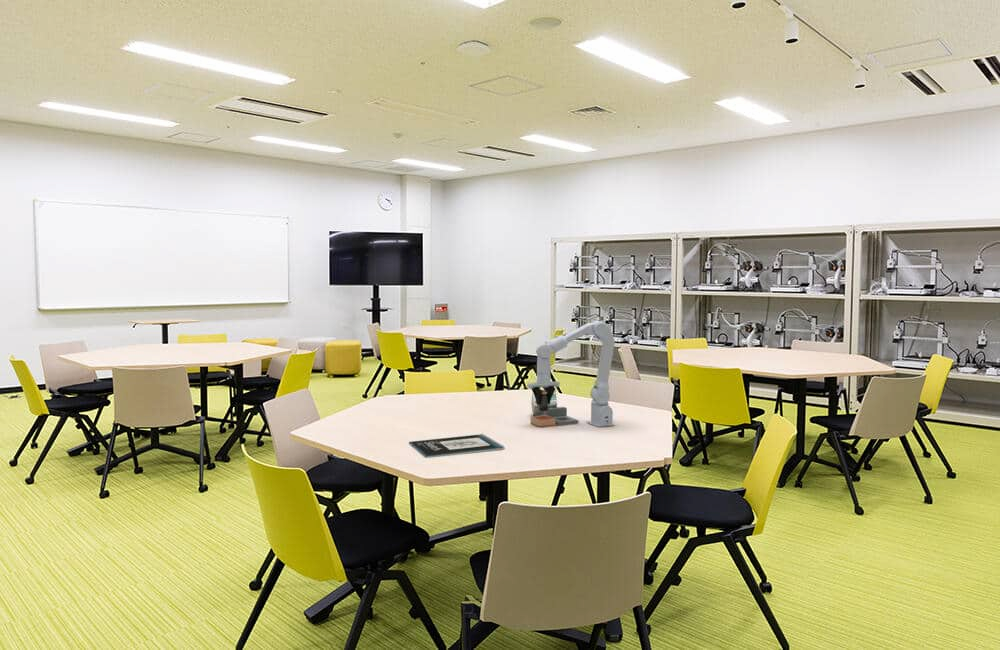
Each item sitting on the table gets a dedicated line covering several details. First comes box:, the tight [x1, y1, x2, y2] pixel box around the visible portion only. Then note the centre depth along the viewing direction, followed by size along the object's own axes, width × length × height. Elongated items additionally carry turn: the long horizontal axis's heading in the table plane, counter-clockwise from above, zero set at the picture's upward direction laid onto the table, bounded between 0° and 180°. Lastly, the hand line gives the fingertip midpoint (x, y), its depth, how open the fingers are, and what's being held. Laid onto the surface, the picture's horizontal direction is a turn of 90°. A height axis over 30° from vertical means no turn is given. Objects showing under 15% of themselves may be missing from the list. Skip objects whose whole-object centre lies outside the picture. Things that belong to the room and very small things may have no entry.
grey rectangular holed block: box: [542, 406, 579, 426], centre depth 292 cm, size 13×10×5 cm
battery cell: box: [538, 389, 548, 411], centre depth 285 cm, size 4×4×8 cm
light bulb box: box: [530, 390, 558, 417], centre depth 301 cm, size 11×7×11 cm
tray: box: [530, 415, 556, 428], centre depth 286 cm, size 8×8×3 cm
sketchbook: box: [408, 433, 506, 459], centre depth 248 cm, size 22×30×2 cm
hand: (543, 404), depth 285 cm, fingers closed on battery cell, 4 cm apart
